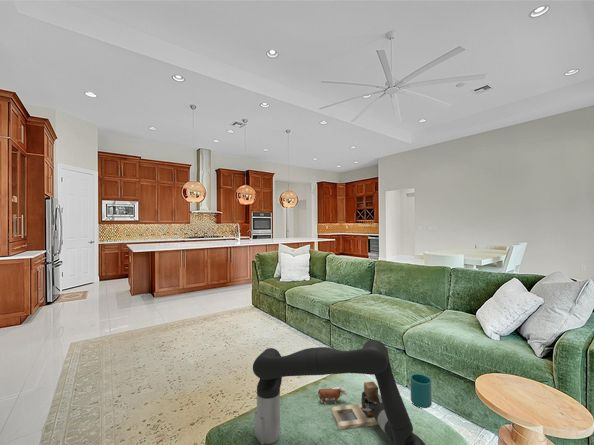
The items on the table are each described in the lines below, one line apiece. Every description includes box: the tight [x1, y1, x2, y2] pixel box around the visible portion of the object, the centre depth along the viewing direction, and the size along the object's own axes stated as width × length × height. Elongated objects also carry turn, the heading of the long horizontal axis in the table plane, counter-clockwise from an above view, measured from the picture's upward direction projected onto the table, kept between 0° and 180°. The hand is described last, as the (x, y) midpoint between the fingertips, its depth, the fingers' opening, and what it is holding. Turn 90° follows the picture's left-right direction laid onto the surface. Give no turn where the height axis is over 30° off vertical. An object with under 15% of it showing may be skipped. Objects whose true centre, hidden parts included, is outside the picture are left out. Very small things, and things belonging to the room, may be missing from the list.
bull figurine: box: [317, 386, 348, 405], centre depth 130 cm, size 4×13×8 cm, turn 89°
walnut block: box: [363, 381, 379, 417], centre depth 121 cm, size 4×4×12 cm
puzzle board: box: [330, 403, 379, 431], centre depth 120 cm, size 22×12×2 cm, turn 100°
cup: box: [410, 373, 433, 409], centre depth 132 cm, size 9×12×11 cm
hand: (368, 393), depth 124 cm, fingers closed on walnut block, 4 cm apart
